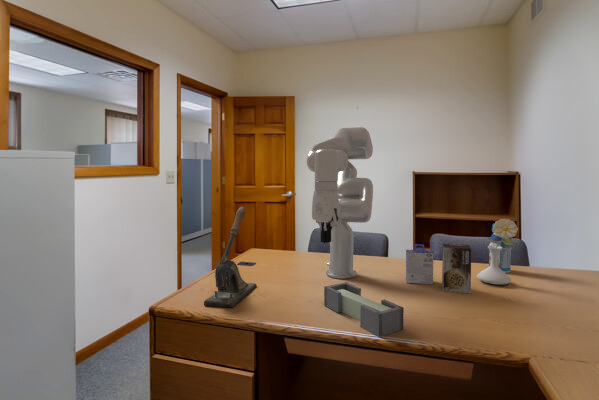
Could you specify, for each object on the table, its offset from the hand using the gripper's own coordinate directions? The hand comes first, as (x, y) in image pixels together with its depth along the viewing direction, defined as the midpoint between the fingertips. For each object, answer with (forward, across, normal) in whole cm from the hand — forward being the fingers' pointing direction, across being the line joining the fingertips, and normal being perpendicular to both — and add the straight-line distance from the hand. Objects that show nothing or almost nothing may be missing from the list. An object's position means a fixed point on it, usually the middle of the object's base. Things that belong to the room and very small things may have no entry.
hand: (325, 242), depth 116 cm
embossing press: (+20, -19, -26) cm, 38 cm away
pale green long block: (+19, +18, 0) cm, 26 cm away
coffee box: (+19, +17, +45) cm, 52 cm away
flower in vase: (+19, +20, +65) cm, 71 cm away
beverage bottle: (+19, +11, +83) cm, 86 cm away
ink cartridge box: (+19, +4, +41) cm, 46 cm away
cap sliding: (+19, +9, 0) cm, 21 cm away
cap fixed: (+19, +27, 0) cm, 33 cm away
